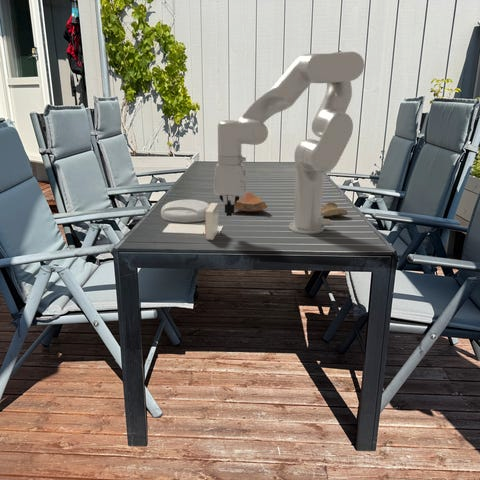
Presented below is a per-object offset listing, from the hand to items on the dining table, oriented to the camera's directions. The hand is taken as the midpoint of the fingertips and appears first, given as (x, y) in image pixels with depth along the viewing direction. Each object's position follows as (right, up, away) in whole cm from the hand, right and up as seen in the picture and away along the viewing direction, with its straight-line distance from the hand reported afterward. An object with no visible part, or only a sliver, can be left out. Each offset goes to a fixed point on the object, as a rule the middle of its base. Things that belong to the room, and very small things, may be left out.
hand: (229, 214), depth 153 cm
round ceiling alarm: (-17, -1, +28) cm, 33 cm away
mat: (-14, -7, +5) cm, 16 cm away
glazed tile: (-6, -7, +4) cm, 10 cm away
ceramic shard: (+15, +4, +31) cm, 35 cm away
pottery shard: (+41, +1, +24) cm, 48 cm away
